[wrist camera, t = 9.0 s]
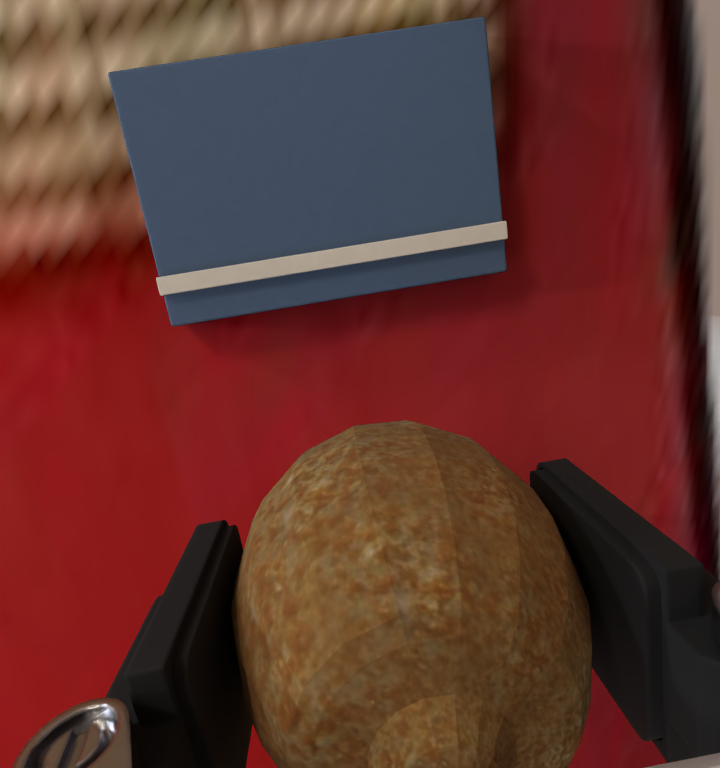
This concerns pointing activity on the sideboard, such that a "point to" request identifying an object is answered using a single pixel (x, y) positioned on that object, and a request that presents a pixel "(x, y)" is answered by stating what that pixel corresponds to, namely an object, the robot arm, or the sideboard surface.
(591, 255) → the sideboard surface
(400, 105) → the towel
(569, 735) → the fruit
